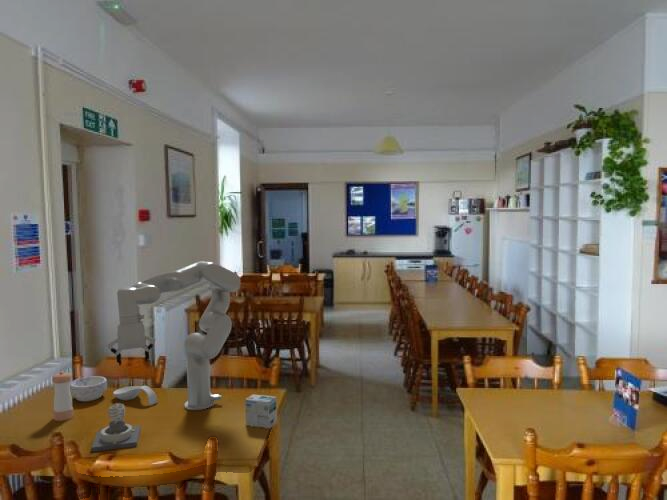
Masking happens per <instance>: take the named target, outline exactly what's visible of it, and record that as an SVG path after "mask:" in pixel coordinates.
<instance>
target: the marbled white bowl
mask: <svg viewBox="0 0 667 500" xmlns="http://www.w3.org/2000/svg"><path fill="white" fill-rule="evenodd" d="M107 389H108V381H107V378H106V377H104V376H98V375H97V376H95V375H93V376H85V377H80V378H77V379H74V380H72V381H71V382H70V393H71V397H74V398H75V399H76V400H77V401H79V402H92V401H95V400H97V399H100V398H101V397H102V396H103V393H105V392H106V391H107Z"/></svg>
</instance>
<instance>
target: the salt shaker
mask: <svg viewBox="0 0 667 500" xmlns="http://www.w3.org/2000/svg"><path fill="white" fill-rule="evenodd" d="M71 380H72V375H71V374H70V373H69V372H64V371H62V370H61V371H59V373H56V374H54V375H53V376H52V378H51V381H52V383H53V384H54V396H53V397H54V398H53V407H54V408H53V412H52V413H53V415H52V416H53V420H54V421H56V422H57V421H58V422H62V421H68V420H70V419H72V418H73V417H74V407H73V398H72V397H73V396H71V393H70V383H71V382H70V381H71Z"/></svg>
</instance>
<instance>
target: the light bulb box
mask: <svg viewBox="0 0 667 500" xmlns="http://www.w3.org/2000/svg"><path fill="white" fill-rule="evenodd" d="M244 405H245V406H244V407H245V426H246V425H253V426H260V427H265V428H264V429H268V428H269V430H270V429H271V428H272V427H274V426H275V425H276V424H277V423H278V416H277V415H278V411H277V409H278V407H277V396H272V395H264V394H263V395H262V394H260V395H259V394H254V393H253V394H251V395H250V396H249V397H248V396H247V398H245V403H244ZM253 426H252V427H253ZM260 427H259V428H260Z"/></svg>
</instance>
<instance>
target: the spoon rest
mask: <svg viewBox="0 0 667 500" xmlns="http://www.w3.org/2000/svg"><path fill="white" fill-rule="evenodd" d="M141 392H144V393H145V394H146V396H147V400H148V401H147V403H148V406H149V407H151V406H153V405H156V404H158V402H159V401H158V397H157V394H156V393H155V391H154V390H153V389H152V388H151V387H149V385H148V386H147V385H142V386H138V385H133V386H132V385H131V386H125V387H121V388H119V389H116V390H114V391H113V392H112V394H113V396H114V397H115V398H117V399H118V400H121V401H130V400H134V399H135V398H136V397H138V395H139V394H140V393H141Z"/></svg>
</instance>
